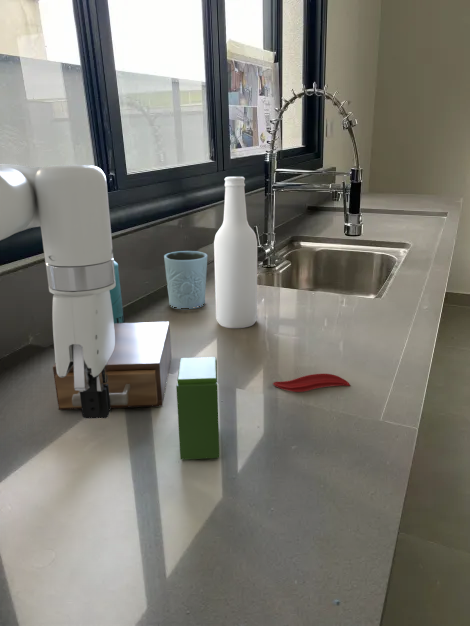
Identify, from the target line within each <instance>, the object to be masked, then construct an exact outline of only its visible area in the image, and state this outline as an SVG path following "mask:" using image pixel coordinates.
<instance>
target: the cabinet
mask: <svg viewBox="0 0 470 626" xmlns="http://www.w3.org/2000/svg"><path fill="white" fill-rule="evenodd" d="M170 326H171V325H170V321H149V322H147V321H146V322H145V321H144V322H125V323H114V330H115V347H114V351H113V353H112V355H111V356H110V358H109V360H108V362H107V371H109V370H139V369H154V370H156V383H157V397H158V401H157V404H156V405H129V406H110V407H111V409H121V408H124V409H125V408H126V409H127V408H151V407H163V405H164V399H165V394H164V393H166V389H167V383H168V378H169V373H170V368H171V367H170V366H171V363H172V345H171V328H170ZM52 372H53V379H54V387H55V394H56V401H57V407H58V411H66V410H67V411H68V410H82V407H74V408H60V406H59V399H58V392H57V385H56V378H55V376H56V375H57V371H56V362H54V364H53V365H52ZM69 372H74V365H73V367H72V368H71V370H70V371H69ZM167 377H168V378H167ZM166 382H167V383H166ZM165 387H166V388H165Z"/></svg>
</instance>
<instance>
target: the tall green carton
mask: <svg viewBox="0 0 470 626" xmlns="http://www.w3.org/2000/svg"><path fill="white" fill-rule="evenodd" d="M217 360H218V359H217V357H216V356H204V357H201V356H200V357H199V356H198V357H180V359H179V367H178V374H177V383H176V386H175V387H176V388H175V389H176V407H177V422H178V440H179V441H178V442H179V457H180V458H179V459H180V460H205V459H220V429H219V428H220V427H219V424H220V423H219V391H218V390H219V389H218V361H217Z"/></svg>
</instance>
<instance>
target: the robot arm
mask: <svg viewBox="0 0 470 626" xmlns="http://www.w3.org/2000/svg"><path fill="white" fill-rule="evenodd" d="M109 205H110V204H109V192H108V183H107V177H106V174H105V173H104V171H103V170H102V169H101V168H100V167H99V166H96V165H91V164H57V165H56V164H54V165H47V166H43V167H42V166H41V167H40V166H31V165H24V164H23V165H22V164H15V163H0V241H2V240H5V239H7V238H9V237H11V236H12V235H14V234H17V233H19V232H22V231H25V230H28V229H31V228H32V229H33V228H39V227H40V232H41V239H42V249H43V254H44V263H45V269H46V277H47V284H48V292H49V293H50V294H52V314H51V315H52V316H51V317H52V335H53V336H52V337H53V349H54V350H53V351H54V360H55V361H54V363H56V371H57V375H58V376H59V377H61V378H63V377H65V376H66V375H67V374H68V372H69V371H70V370H71V368H72V367H73V365H74V388H75V391H79V392H80V398H81V406H82V409H81V414H82V418H83V419H85V420H86V419H90V420H91V419H107V418H108V417H109V415H110V413H111V410H112V408H111V407H110V396H109V386H108V384H103V383H107V382H108V372H107V362H108V360H109V358H110V356H111V355H112V353H113V351H114V347H115V330H114V320H113V311H112V304H111V297H110V296H111V295H110V291H109V290H111V289H113V288H115V286H116V281H115V269H114V261H115V259H114V250H113V249H114V248H113V239H112V237H113V236H112V229H111V228H112V227H111V215H110V206H109Z"/></svg>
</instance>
